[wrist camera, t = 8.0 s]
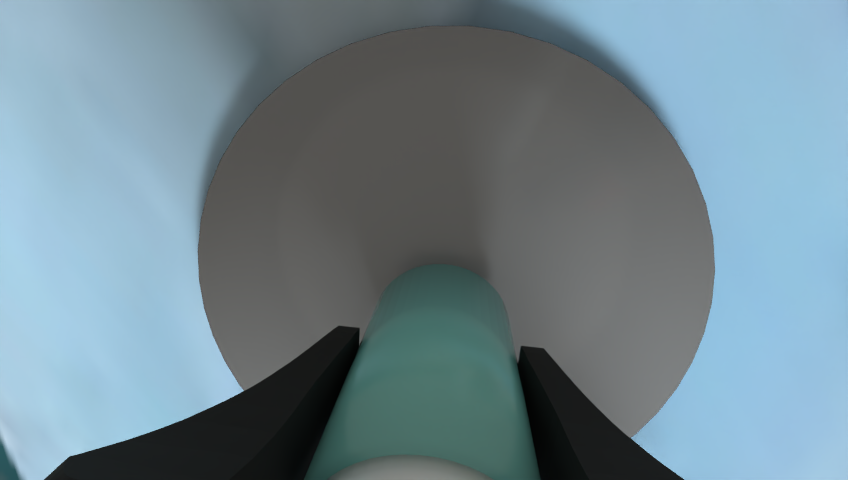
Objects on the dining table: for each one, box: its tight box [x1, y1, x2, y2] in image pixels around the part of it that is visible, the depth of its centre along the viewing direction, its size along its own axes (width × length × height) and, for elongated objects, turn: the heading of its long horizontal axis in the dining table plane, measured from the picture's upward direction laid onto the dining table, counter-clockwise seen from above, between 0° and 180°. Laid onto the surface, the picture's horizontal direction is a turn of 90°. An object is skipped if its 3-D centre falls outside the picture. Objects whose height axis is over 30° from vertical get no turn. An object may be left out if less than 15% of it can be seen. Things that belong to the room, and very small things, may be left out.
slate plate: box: [198, 26, 715, 438], centre depth 16 cm, size 18×18×1 cm
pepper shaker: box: [304, 264, 541, 480], centre depth 10 cm, size 4×4×8 cm
